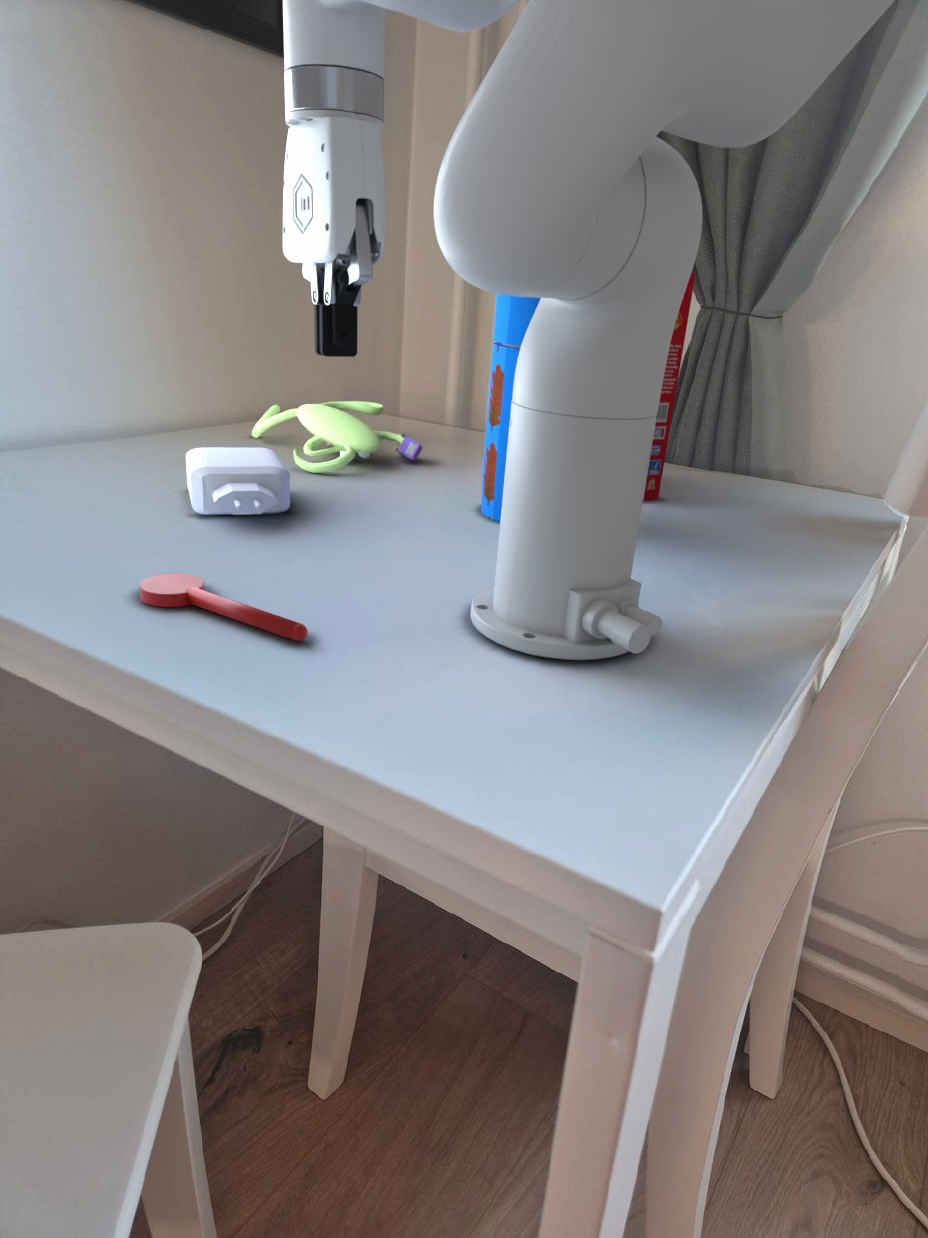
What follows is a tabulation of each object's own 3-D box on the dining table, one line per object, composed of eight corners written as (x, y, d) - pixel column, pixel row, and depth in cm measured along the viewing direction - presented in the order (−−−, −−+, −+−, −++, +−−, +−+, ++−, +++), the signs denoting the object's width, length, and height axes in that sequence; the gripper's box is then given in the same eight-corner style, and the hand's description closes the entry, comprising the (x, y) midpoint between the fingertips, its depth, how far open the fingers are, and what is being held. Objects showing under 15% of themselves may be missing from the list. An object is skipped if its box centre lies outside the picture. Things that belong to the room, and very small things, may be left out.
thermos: (576, 534, 83) (611, 261, 73) (471, 521, 84) (491, 253, 75) (583, 508, 93) (615, 264, 83) (489, 496, 94) (509, 256, 85)
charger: (197, 535, 74) (187, 492, 87) (300, 532, 77) (277, 491, 90) (194, 483, 72) (185, 447, 85) (300, 481, 75) (276, 447, 88)
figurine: (367, 431, 126) (368, 393, 124) (445, 470, 105) (448, 425, 103) (245, 433, 118) (244, 392, 116) (303, 476, 96) (303, 428, 94)
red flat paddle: (326, 632, 56) (327, 616, 56) (282, 654, 53) (281, 636, 52) (176, 581, 63) (175, 566, 63) (127, 596, 60) (125, 581, 59)
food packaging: (658, 498, 99) (695, 272, 90) (622, 501, 97) (656, 269, 87) (588, 470, 111) (615, 268, 102) (555, 471, 109) (579, 265, 99)
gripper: (252, 111, 68) (261, 348, 74) (332, 81, 56) (334, 364, 63) (336, 125, 72) (337, 348, 78) (427, 100, 60) (419, 364, 67)
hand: (336, 355), depth 71 cm, fingers closed
